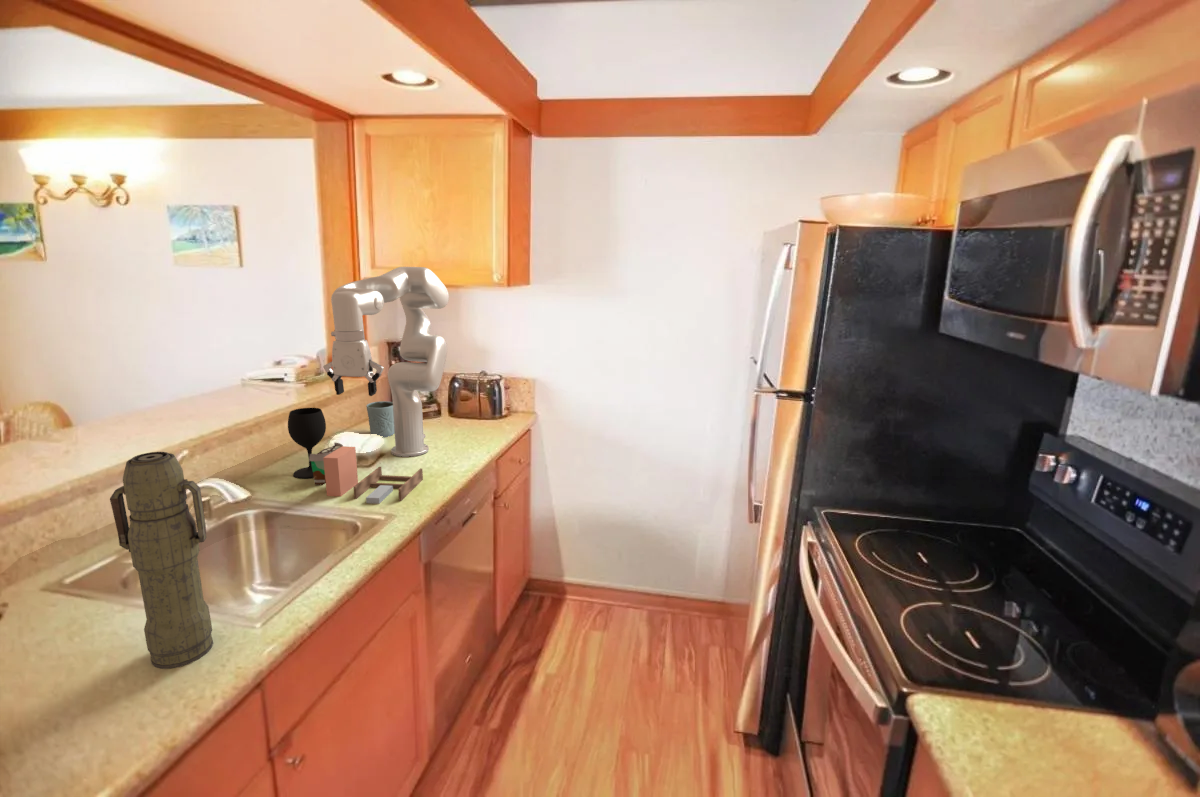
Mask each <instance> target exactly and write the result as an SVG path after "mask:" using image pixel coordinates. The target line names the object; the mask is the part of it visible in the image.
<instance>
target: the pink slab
mask: <svg viewBox="0 0 1200 797" xmlns="http://www.w3.org/2000/svg"><path fill="white" fill-rule="evenodd" d="M323 459H324V470H325V480H326V483H325V489H326V490H325V491H326V496H327V497H342V496H344V495H345V494H346V493H348V492H349V491H350V490H351V489H352V488H353V489H354V486H355V485H356V484H358V483H359V478H358V475H359V474H358V464H357V452H356V447H355V446H344V445H343V446H342V447H340V448H338V449H337V450H335V451H333V452H332V453H330V454H329V455H327V456H325V457H324V458H323Z"/></svg>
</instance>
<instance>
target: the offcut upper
mask: <svg viewBox="0 0 1200 797" xmlns="http://www.w3.org/2000/svg"><path fill="white" fill-rule="evenodd" d="M393 491H394V488H393V486H389V485H380V486H379V487H378V488H376V487H375V489H374V490H373V491H372V492H370V494H368V495H367V496H366V497H365V501H366V502H365V503H366V504H381V503H382V502H383V501H384V500H385V499H386V498H387V497H388V496H390V494H392V492H393Z"/></svg>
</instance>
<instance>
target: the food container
mask: <svg viewBox="0 0 1200 797" xmlns="http://www.w3.org/2000/svg"><path fill="white" fill-rule="evenodd" d="M333 444H334V445H333V446H332V445H331V447H328V448H325V449H324V448H323V449H322V450H320V451H319V452H317V453H312V454H310V456H309V458H308V462H309V461H311V465H312V470H313V476H314V478H313V481H314V486H324V485H326V480H325V470H324V459H323V458H324V457H325V456H327V455H329V454H330V453H332V452H333V451H335V450H337V449H338V448H340V447H342V446H344V445H343V444H341V443H339V442H334V443H333ZM320 484H321V485H320ZM323 484H324V485H323Z"/></svg>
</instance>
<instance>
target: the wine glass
mask: <svg viewBox="0 0 1200 797" xmlns="http://www.w3.org/2000/svg"><path fill="white" fill-rule="evenodd" d="M287 419H288V420H287V430H288V434H289V436H290V438H291V440H293V442H294V443H295V444H296V445H298V446H300V447H302V448H304V449H306V451H307V457H308V459H309V456H310V454H313V449H314V447H315V446H317V445H318V444H319V443H320V442H321V441H322V440H323V438H324V436H325V434H326V429H327V423H326V418H325V415H324V413H323V410H322V408H318V407H302V408H301V407H300V408H296V409H293V410H292V409H291V410H290V411H289V413H288V418H287ZM292 475H293V477H294V478H296V479H301V480H306V479H314V476H313V470H312V465H311V461H309V460H308V466H305V467H302V468H299V469H296V470H295V471H294V472H293V474H292Z"/></svg>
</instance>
